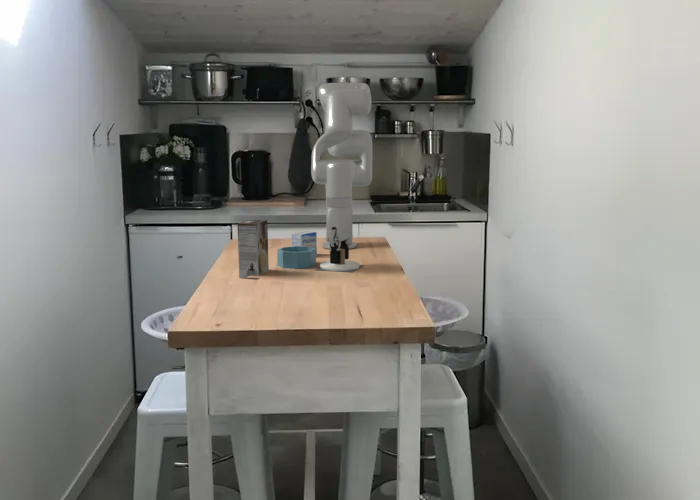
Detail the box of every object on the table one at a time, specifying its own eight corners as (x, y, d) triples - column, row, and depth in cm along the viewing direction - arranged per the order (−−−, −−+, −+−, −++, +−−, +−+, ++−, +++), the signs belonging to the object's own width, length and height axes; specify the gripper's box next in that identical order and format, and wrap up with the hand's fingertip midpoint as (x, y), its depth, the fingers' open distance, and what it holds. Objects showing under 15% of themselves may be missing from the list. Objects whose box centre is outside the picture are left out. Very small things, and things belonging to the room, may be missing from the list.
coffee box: (249, 272, 219) (247, 219, 216) (269, 272, 217) (268, 219, 215) (238, 278, 210) (236, 223, 207) (259, 279, 208) (258, 224, 206)
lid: (327, 263, 227) (327, 245, 226) (364, 265, 224) (364, 247, 223) (314, 270, 216) (314, 251, 215) (352, 272, 212) (352, 253, 212)
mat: (327, 266, 227) (327, 263, 227) (364, 268, 224) (364, 265, 224) (314, 273, 216) (314, 270, 216) (352, 275, 213) (352, 272, 212)
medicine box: (301, 260, 237) (301, 234, 236) (291, 259, 240) (291, 233, 238) (317, 257, 243) (317, 231, 242) (307, 256, 246) (306, 230, 244)
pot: (287, 264, 231) (286, 245, 230) (319, 266, 228) (319, 247, 227) (273, 270, 221) (272, 251, 220) (307, 272, 217) (306, 253, 216)
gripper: (336, 200, 226) (337, 255, 229) (317, 205, 210) (318, 265, 213) (359, 200, 224) (359, 257, 227) (342, 206, 207) (342, 267, 210)
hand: (339, 260), depth 220 cm, fingers open, 7 cm apart
